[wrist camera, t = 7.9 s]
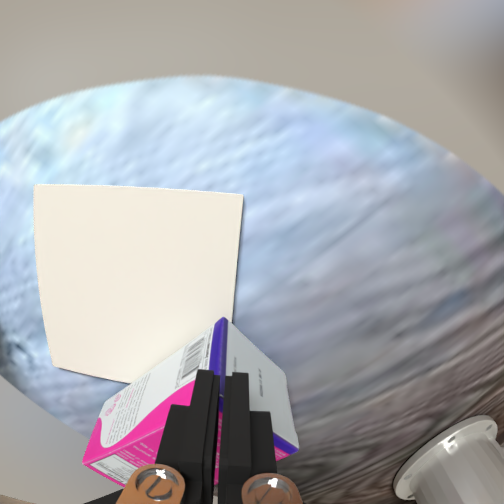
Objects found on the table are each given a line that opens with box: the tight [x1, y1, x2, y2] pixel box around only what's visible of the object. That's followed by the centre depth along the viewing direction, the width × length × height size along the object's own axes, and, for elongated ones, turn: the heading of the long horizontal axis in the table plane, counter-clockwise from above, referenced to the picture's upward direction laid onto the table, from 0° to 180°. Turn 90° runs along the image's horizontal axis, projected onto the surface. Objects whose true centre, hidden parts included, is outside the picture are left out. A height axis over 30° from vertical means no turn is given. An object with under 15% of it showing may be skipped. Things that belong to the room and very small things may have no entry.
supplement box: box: [82, 317, 299, 487], centre depth 15 cm, size 6×6×11 cm
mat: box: [34, 184, 243, 383], centre depth 17 cm, size 12×12×1 cm
